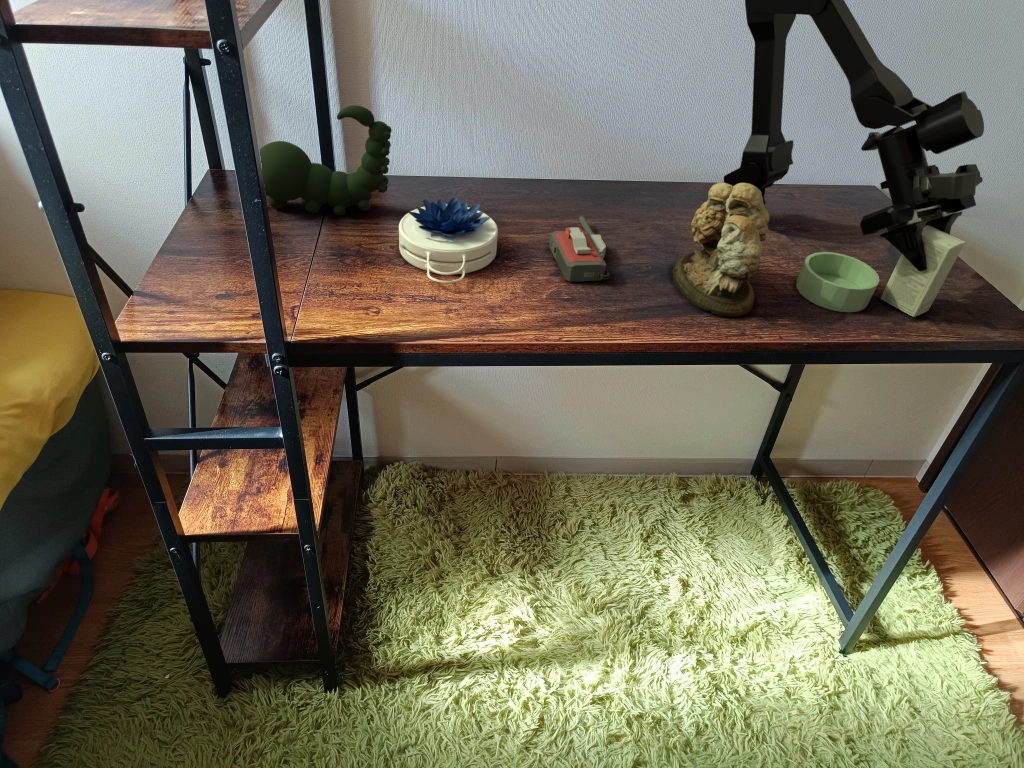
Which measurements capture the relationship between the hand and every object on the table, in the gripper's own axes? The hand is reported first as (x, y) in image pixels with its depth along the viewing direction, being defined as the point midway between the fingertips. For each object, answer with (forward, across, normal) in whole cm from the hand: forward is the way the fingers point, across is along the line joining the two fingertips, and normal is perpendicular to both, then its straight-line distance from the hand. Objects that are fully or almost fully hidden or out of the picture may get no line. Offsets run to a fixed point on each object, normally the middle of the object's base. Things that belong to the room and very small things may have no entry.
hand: (933, 267), depth 104 cm
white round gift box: (-22, -62, +34) cm, 74 cm away
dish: (0, -8, +12) cm, 14 cm away
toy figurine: (-38, -76, +51) cm, 99 cm away
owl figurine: (-6, -26, +18) cm, 32 cm away
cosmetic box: (+4, 0, +6) cm, 8 cm away
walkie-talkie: (-18, -41, +30) cm, 54 cm away
